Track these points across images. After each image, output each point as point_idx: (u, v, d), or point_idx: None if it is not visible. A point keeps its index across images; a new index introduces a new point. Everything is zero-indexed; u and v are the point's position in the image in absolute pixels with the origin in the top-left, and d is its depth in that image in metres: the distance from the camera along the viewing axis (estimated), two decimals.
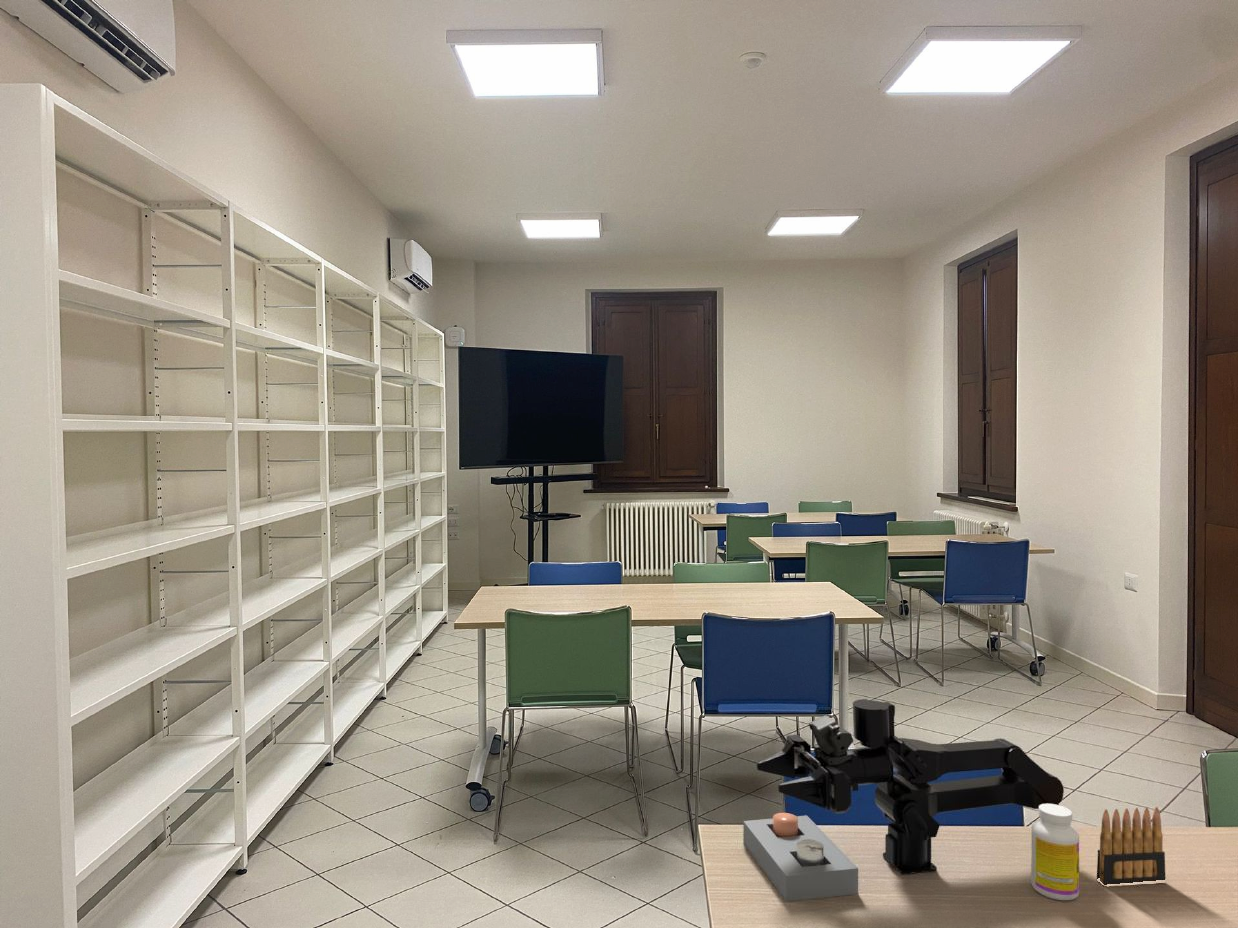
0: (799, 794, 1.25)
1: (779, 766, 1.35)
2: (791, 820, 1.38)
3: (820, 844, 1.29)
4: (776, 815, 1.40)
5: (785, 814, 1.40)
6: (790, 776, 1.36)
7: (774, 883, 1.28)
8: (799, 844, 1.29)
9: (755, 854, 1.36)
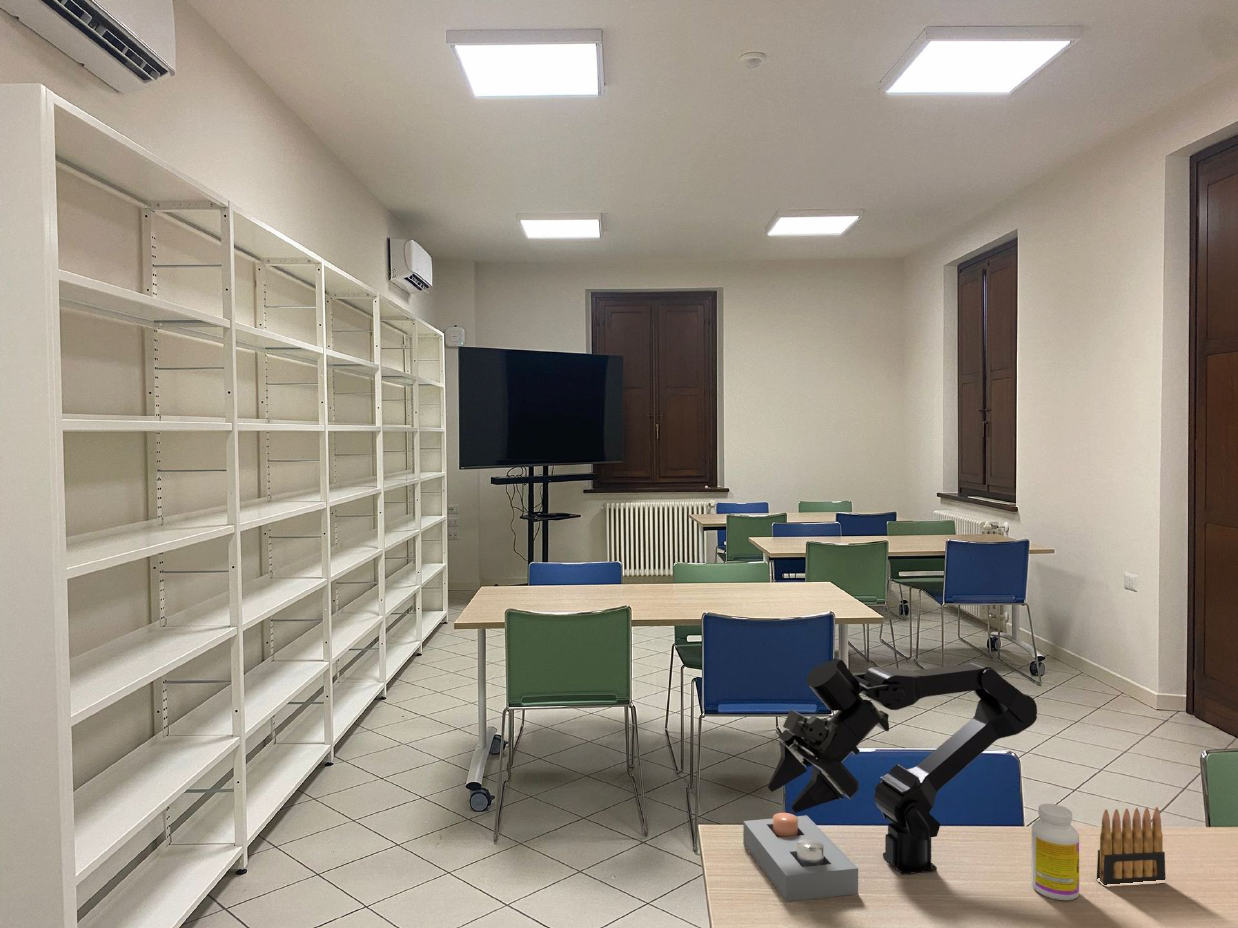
0: (812, 802, 1.24)
1: (787, 773, 1.34)
2: (791, 820, 1.38)
3: (820, 844, 1.29)
4: (776, 815, 1.40)
5: (785, 814, 1.40)
6: (802, 772, 1.35)
7: (774, 883, 1.28)
8: (799, 844, 1.29)
9: (755, 854, 1.36)
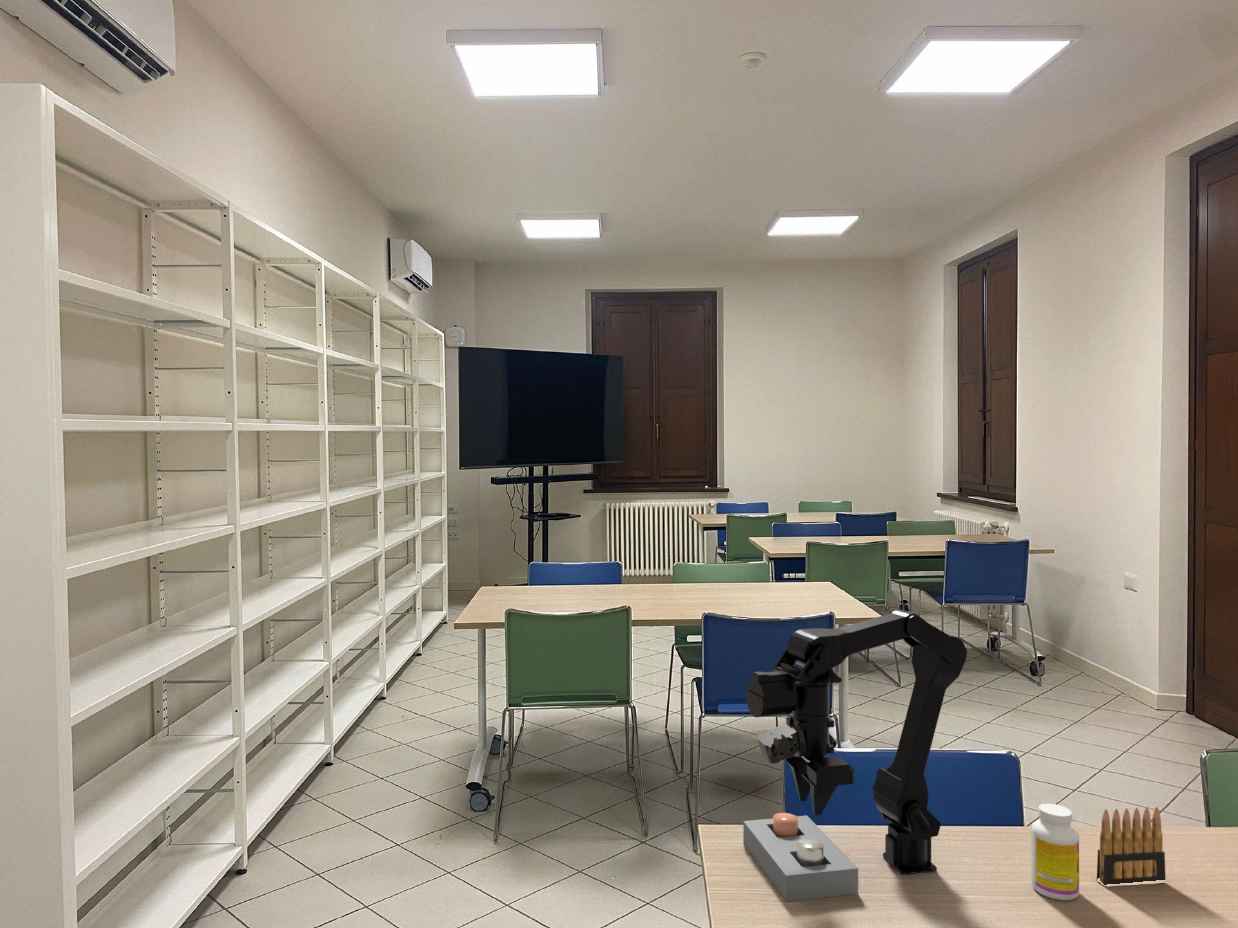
0: (826, 797, 1.25)
1: None
2: (791, 820, 1.38)
3: (820, 844, 1.29)
4: (776, 815, 1.40)
5: (785, 814, 1.40)
6: None
7: (774, 883, 1.28)
8: (799, 844, 1.29)
9: (755, 854, 1.36)
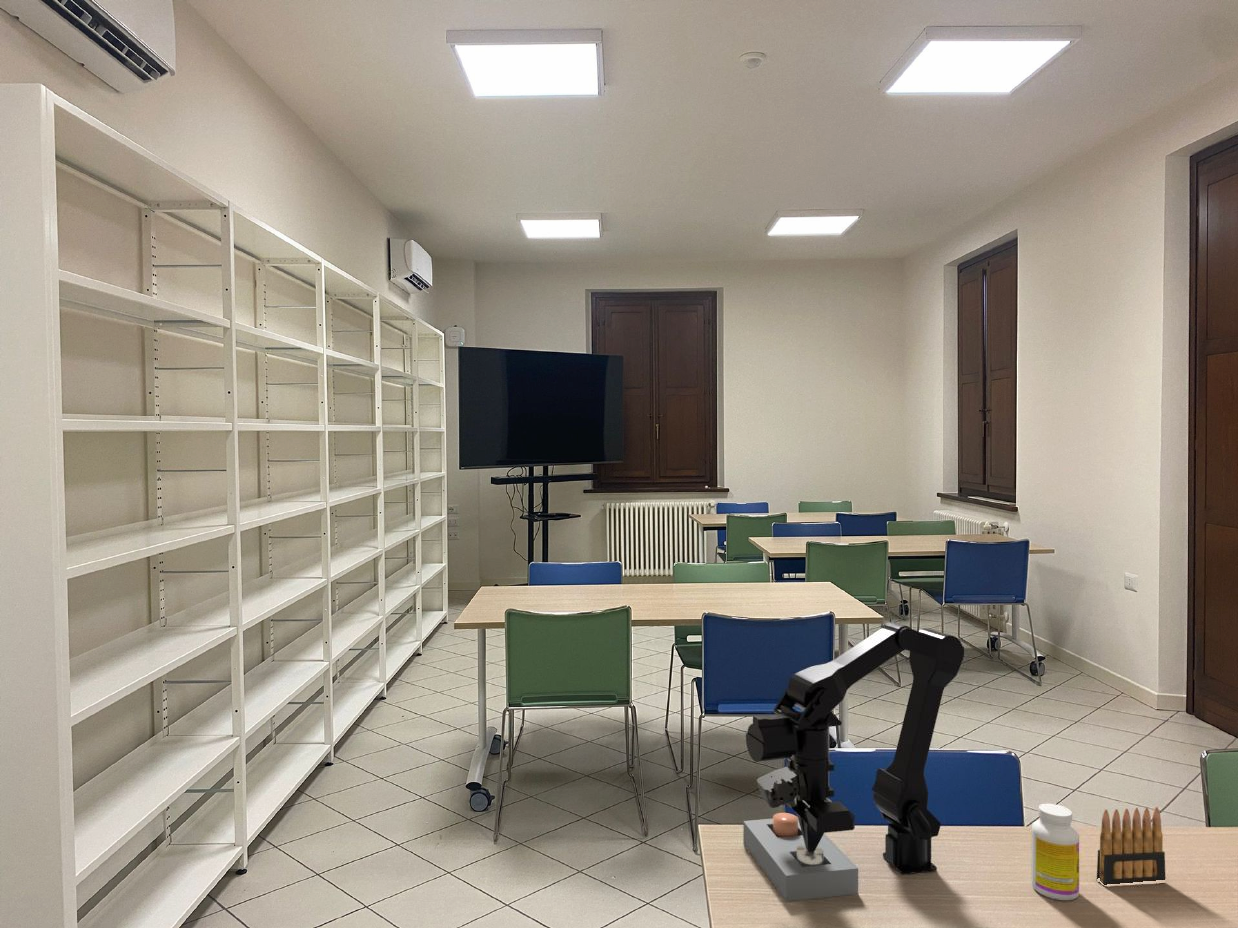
0: (819, 834, 1.28)
1: None
2: (791, 820, 1.38)
3: (820, 849, 1.29)
4: (776, 815, 1.40)
5: (785, 814, 1.40)
6: None
7: (774, 883, 1.28)
8: (799, 849, 1.29)
9: (755, 854, 1.36)
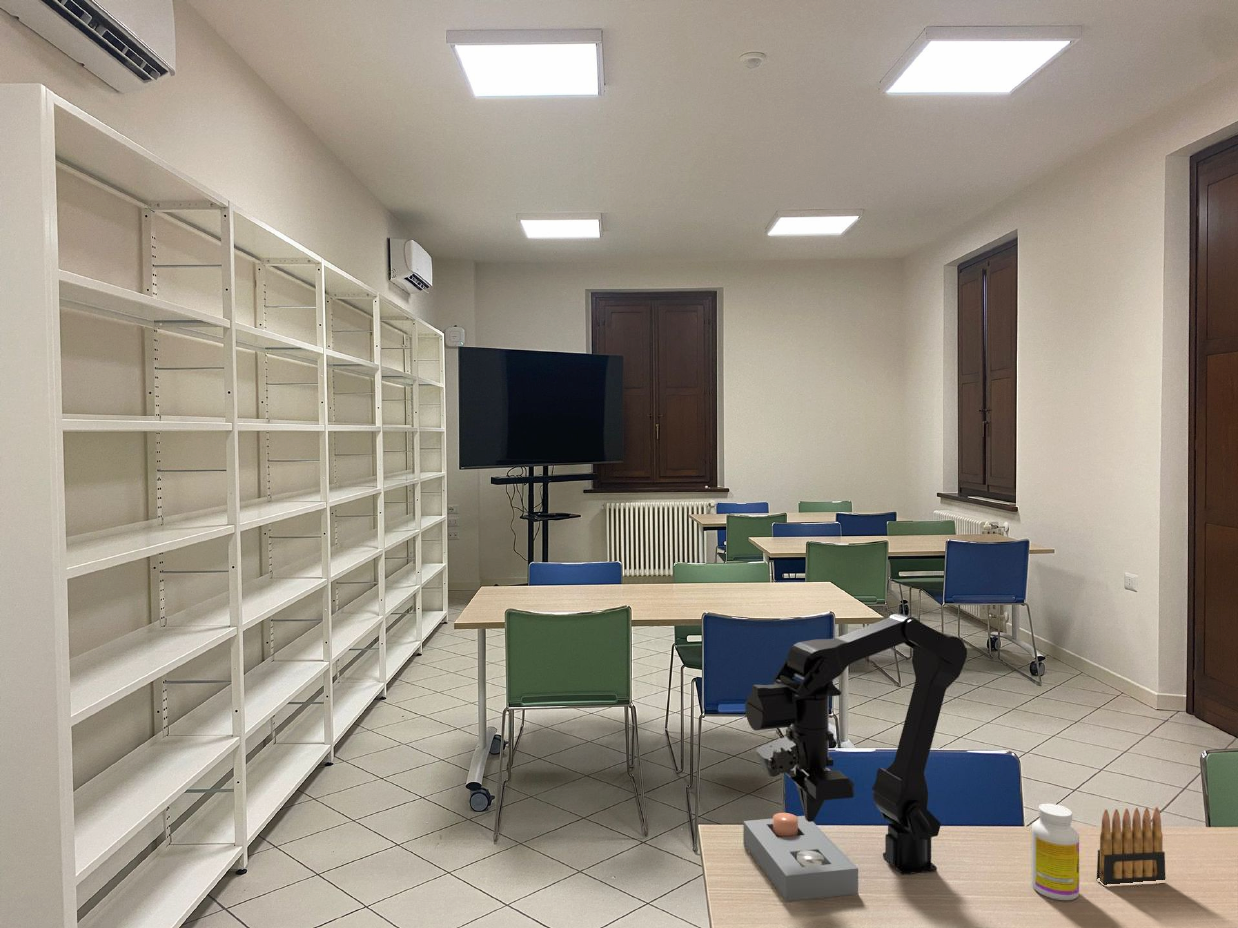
0: (818, 803, 1.28)
1: None
2: (791, 820, 1.38)
3: (820, 855, 1.29)
4: (776, 815, 1.40)
5: (785, 814, 1.40)
6: None
7: (774, 883, 1.28)
8: (799, 855, 1.29)
9: (755, 854, 1.36)
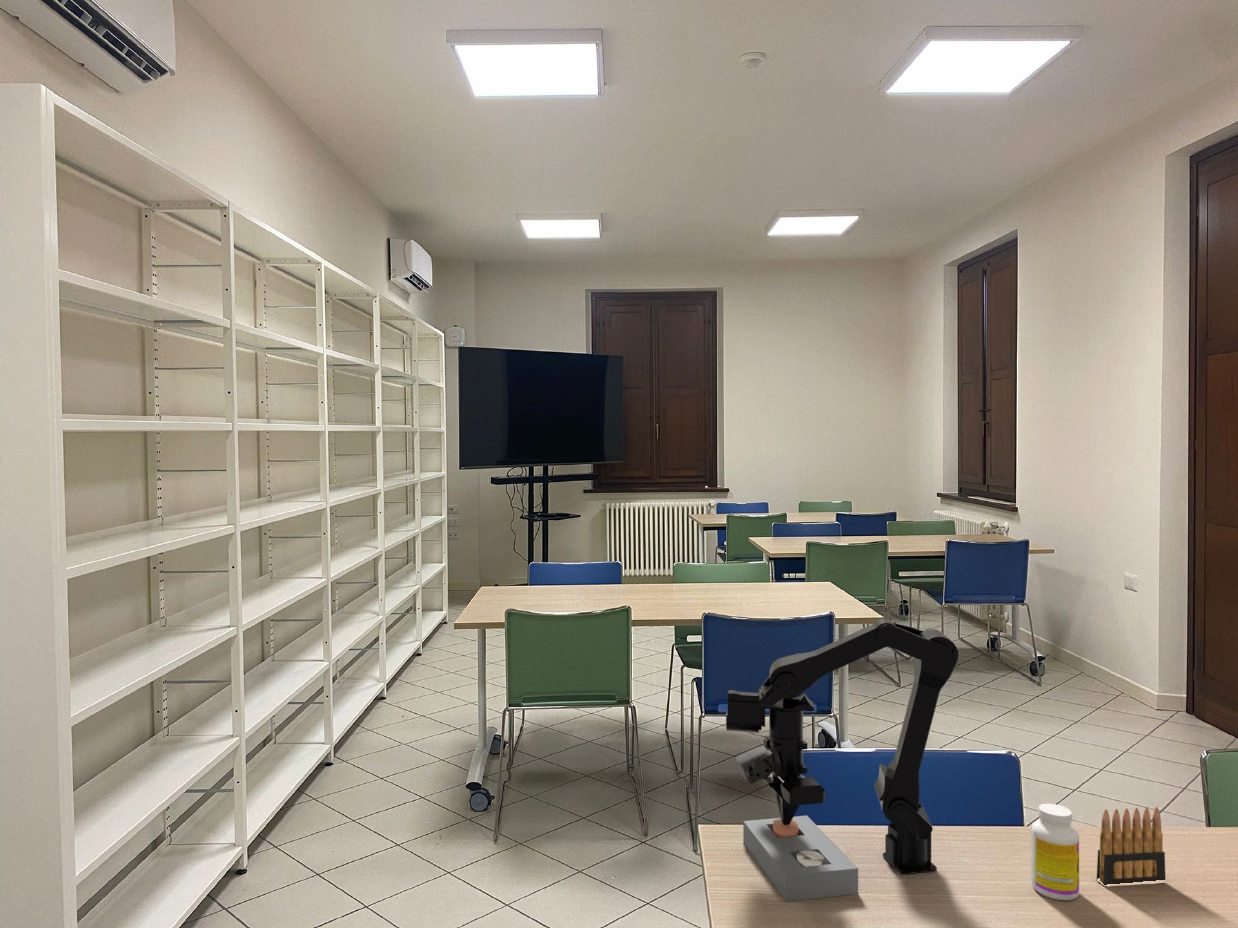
0: (793, 808, 1.37)
1: None
2: (791, 826, 1.38)
3: (820, 855, 1.29)
4: (776, 821, 1.40)
5: None
6: None
7: (774, 883, 1.28)
8: (799, 855, 1.29)
9: (755, 854, 1.36)
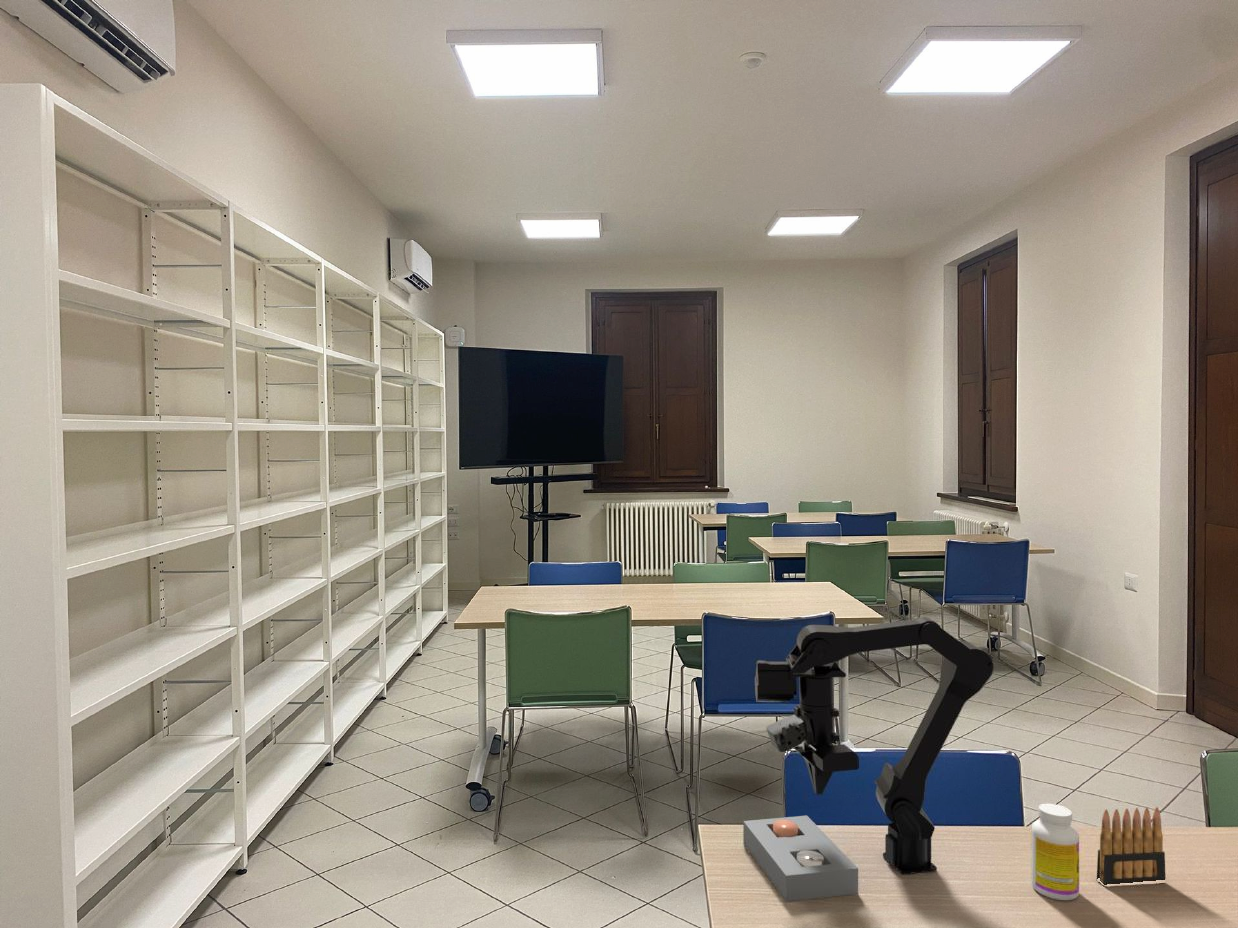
0: (826, 777, 1.35)
1: None
2: (791, 827, 1.38)
3: (820, 855, 1.29)
4: (776, 822, 1.40)
5: (785, 821, 1.40)
6: None
7: (774, 883, 1.28)
8: (799, 855, 1.29)
9: (755, 854, 1.36)
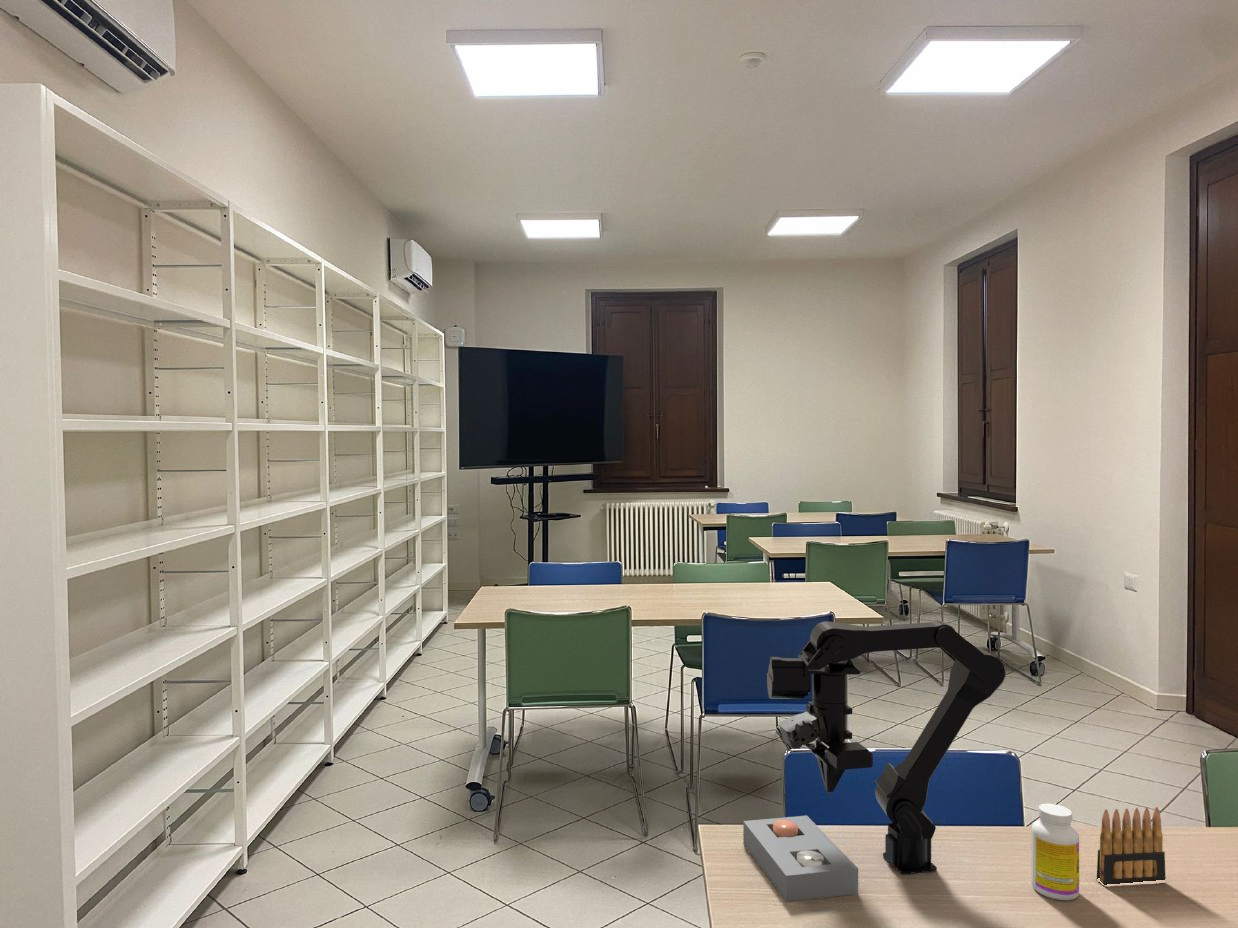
0: (838, 774, 1.34)
1: None
2: (791, 827, 1.38)
3: (820, 855, 1.29)
4: (776, 822, 1.40)
5: (785, 821, 1.40)
6: None
7: (774, 883, 1.28)
8: (799, 855, 1.29)
9: (755, 854, 1.36)
